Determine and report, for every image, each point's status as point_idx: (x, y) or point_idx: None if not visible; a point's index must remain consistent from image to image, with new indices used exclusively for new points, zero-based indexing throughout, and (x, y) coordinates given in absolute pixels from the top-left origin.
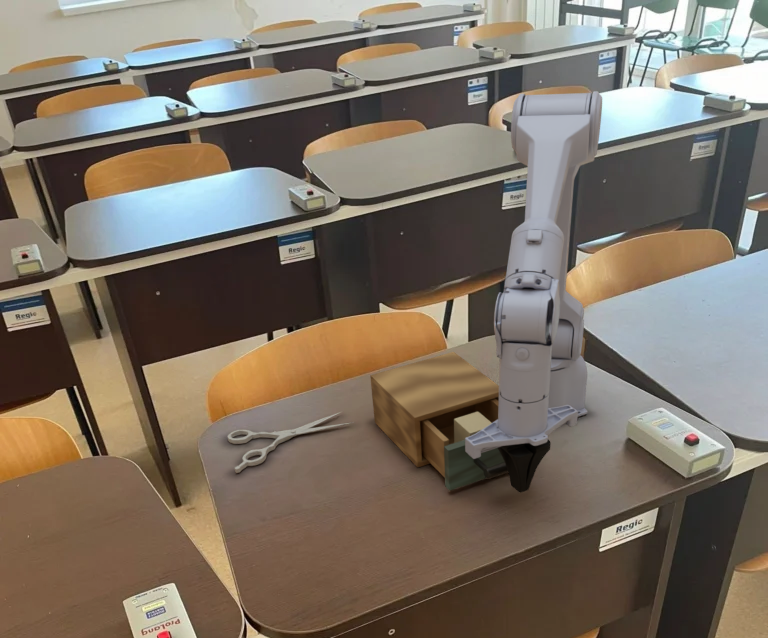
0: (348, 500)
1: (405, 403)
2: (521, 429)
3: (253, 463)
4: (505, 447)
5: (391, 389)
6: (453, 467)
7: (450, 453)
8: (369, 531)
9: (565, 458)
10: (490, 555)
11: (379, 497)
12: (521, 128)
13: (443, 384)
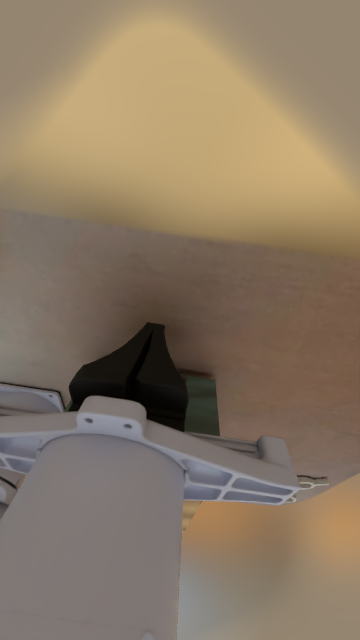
0: (297, 420)
1: (193, 505)
2: (153, 487)
3: (310, 480)
4: (184, 424)
5: (186, 518)
6: (210, 408)
7: (216, 434)
8: (331, 381)
9: (49, 344)
10: (274, 259)
11: (271, 408)
12: None
13: None
